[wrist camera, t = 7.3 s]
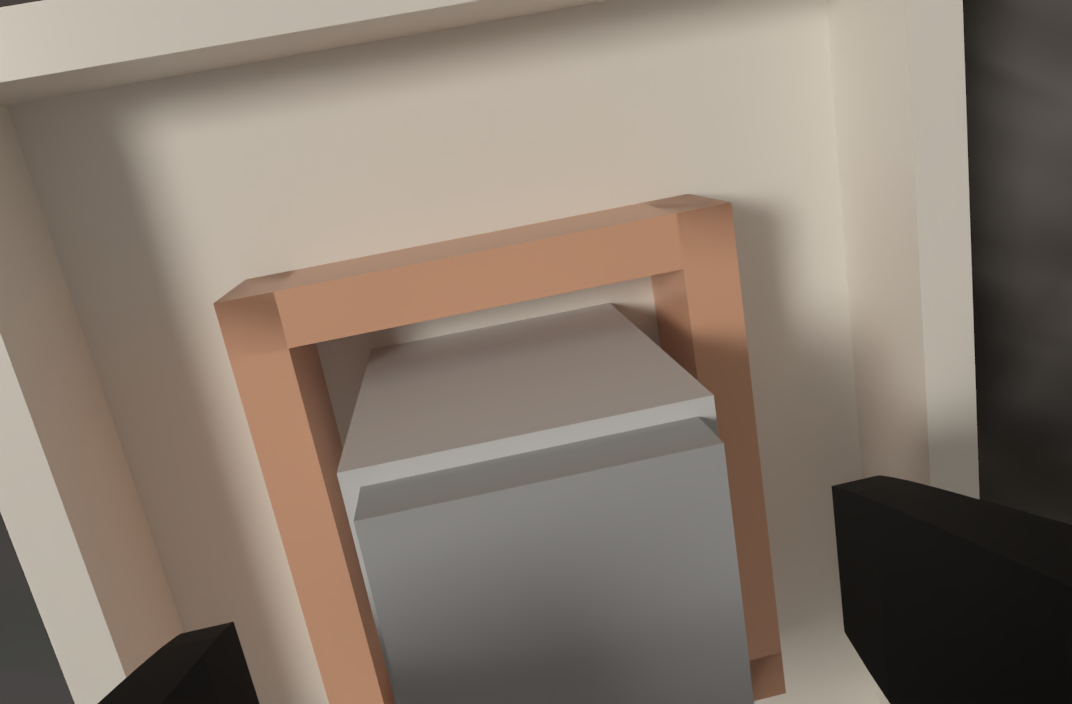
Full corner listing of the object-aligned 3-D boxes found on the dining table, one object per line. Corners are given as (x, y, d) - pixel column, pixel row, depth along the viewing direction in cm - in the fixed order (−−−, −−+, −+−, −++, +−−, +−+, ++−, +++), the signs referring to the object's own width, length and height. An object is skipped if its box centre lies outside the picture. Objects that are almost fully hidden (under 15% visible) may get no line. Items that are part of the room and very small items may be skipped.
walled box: (899, 723, 18) (990, 838, 15) (246, 886, 17) (207, 1044, 14) (843, -87, 13) (957, -151, 10) (-40, 62, 12) (-184, 37, 9)
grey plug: (648, 565, 15) (786, 831, 9) (433, 614, 15) (435, 921, 9) (609, 302, 14) (741, 419, 8) (371, 348, 13) (327, 506, 8)
